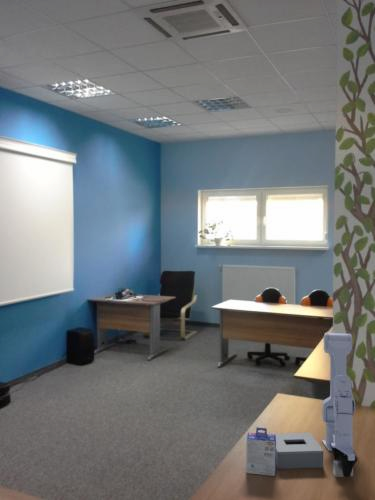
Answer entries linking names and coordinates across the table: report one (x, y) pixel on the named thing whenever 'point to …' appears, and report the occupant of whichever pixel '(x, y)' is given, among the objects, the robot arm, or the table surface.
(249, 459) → the ink cartridge box
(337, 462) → the block
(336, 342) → the robot arm
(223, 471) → the table surface
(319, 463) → the ballot box
